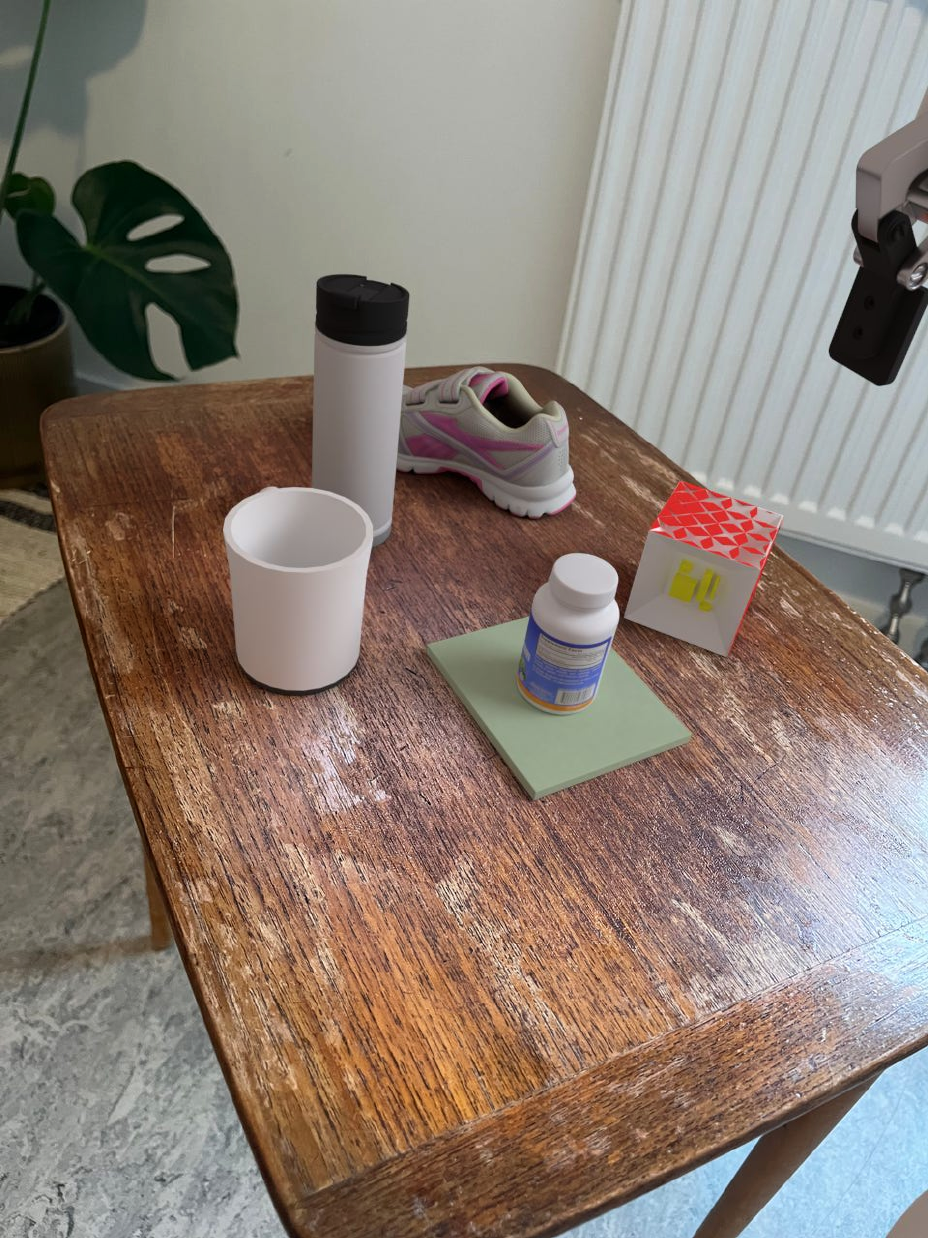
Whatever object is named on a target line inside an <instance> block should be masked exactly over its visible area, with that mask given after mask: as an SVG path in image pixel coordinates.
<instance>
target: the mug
mask: <svg viewBox="0 0 928 1238" xmlns="http://www.w3.org/2000/svg"><path fill="white" fill-rule="evenodd" d="M222 531H223V532H222V534H223V539H224V546H225V550H226V552H225V553H226V558H227V563H228V568H229V569H228V570H229V580H230V581H229V582H230V593H231V606H232V615H233V616H232V617H233V618H232V619H233V629H234V641H235V642H234V643H235V653H236V659H237V663H238V666H239V668H240V669H241V670H242V672H243V674H244V675H245V676H246V677H247V678H248V680H250V681H252V682H253V683H254V684H256V686H257V687H260V688H262V689H265V690H267V691H270V692H272V693H277V694H280V695H286V696H308V695H316V694H320V693H323V692H325V691H329V690H331V689H334V688H335V687H337V686H338V685H340V684H341V683H343V682H344V681H346V680H347V678H348V677H349V676H350V675H351V674H352V673H353V672H354V671H355V670H356V666H357V664H358V662H359V659H360V650H361V640H362V639H361V638H362V627H363V618H364V617H363V616H364V606H365V595H366V585H367V577H368V575H367V574H368V569H369V564H370V558H371V553H372V549H373V548H372V543H373V524H372V522H371V520H370V518H369V516H368V514H367V513H366V512H365V511H364V510H363V509H362V508H361V507H360V506H359V505H357V504H355V503H354V502H352V501H351V500H349V499H347V498H346V497H343V496H340V495H337V494H335V493H332V492H329V491H324V490H319V489H314V488H312V487H298V486H292V487H291V486H290V487H281V488H280V487H277V486H267V487H264V488H262V489H260V491H259V492H257V493H255V494H252V495H251V496H248V497H246V498H244V499H242V500H241V501H239V502H238V503H237V504H236V505H234V506H233V507H231V509H230V511H229V512H228V514H226V516H225V517H224V522H223V528H222Z"/></svg>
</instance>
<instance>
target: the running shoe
mask: <svg viewBox="0 0 928 1238" xmlns="http://www.w3.org/2000/svg"><path fill="white" fill-rule="evenodd" d="M569 437H570V426H569V422H568V418H567V414H566V411H565V409H564V408H563V406H561V404H560V403H558V402H557V401H555V400H551V401H549V402H547V403H546V404H545V405H544V406H543V407H542V406H540V405H539V404H538V403H537V402H536V401H535V400H534V398H533V397H532V396H531V395H530V394H529V392H528V391H527V390H526V389H525V387H524V386H523V384H522V383H521V381H520V380H519V379H517V377H515V376H514V375H513V374H511V373H508V372H505V371H494V370H492V369H489V368H487V367H485V366H474V367H472V368H471V367H469V368H466V369H463V370H460V371H458V372H455V373H453V374H452V375H450V376H448V377H446V378H443V379H436V380H433V381H429V382H427V383H424V384H421V385H418V386H417V385H416V387H414V388H413V387H410V386H408V385H405V384H403V391H402V403H401V415H400V427H399V439H398V451H397V463H396V471H399V472H402V473H409V472H411V471H413V472H414V473H415V474H417V475H428V474H429V475H431V474H433V475H434V474H440V473H445V472H447V471H449V472H451V473H459V474H460V475H462V476H463V477H465V478H469V479H470V481H471V482H472V483H474V484H476V485H477V487H478V488H479V490H480V491H481V493H482V494H484V495H485V496H486V498H487V499H488V500H489V501H491V502H492V501H493V502H494V503H495V506H497V508H500V509H502V510H504V511H506V510H508V509H509V511H510V513H511V514H512V515H514V516H517V517H520V518H523V517H526V516H528V517H529V518H530V519H531V520H532V519H533V520H539V519H540V518H541V517H542V516H543V514H546V515H549V516H555V515H557V514H558V513H560V512H562V511H563V510H565V509H566V508H568V506H569V505H571V504H572V502H574V500H575V499H576V496H577V490H576V487H575V485H574V483H573V481H574V479H575V475H574V470H573V468H572V466H571V464H569V461H570V460H569V459H570V455H569V454H570V450H569V449H570V446H569Z"/></svg>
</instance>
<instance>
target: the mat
mask: <svg viewBox="0 0 928 1238" xmlns="http://www.w3.org/2000/svg"><path fill="white" fill-rule="evenodd" d="M529 617H530V615H528V616H525V617H521V618H518V619H514V620H510V621H506V622H502V623H500V624H499V623H498V624H496V625H492V626H489V627H485V628H481V629H478V630H474V631H471V632H467V633H464V634H459V635H456V636H452V637H448V638H445V639H441V640H438V641H434V642H430V643H427V644H426V651H425V654H426V655H427V656H428V658H429V659H430V660H431V662H432V663H433V665H434V666H435V667H436V669H437V670H438V671H439V673H440V674H441V676H442V677H443V678H444V680H445V681H446V682H447V684H448V685H449V687H450V688H451V689H452V691H453V692H454V694H455V695H456V696H457V697H458V699H459V700H460V702H461V703H462V704H463V706H464V707H465V708H466V710H467V711H468V713H469V714H470V716H471V717H472V718H473V719H474V721H475V723H476V724H477V725H478V726H479V728H480V729H481V731H482V732H483V733H484V735H485V736H486V738H487V739H488V740H489V741H490V743H491V744H492V746H493V747H494V748H495V750H496V751H497V753H498V754H499V755H500V757H501V758H502V760H503V761H504V762H505V764H506V765H507V766H508V768H509V770H511V772H512V774H513V775H514V776H515V777H516V779H517V780H518V781H519V783H520V784H521V786H522V787H523V788H524V790H525V791H526V793H527V794H528V795H529V796H530V798H531V800H532V801H536V800H538V799H539V800H540V799H542V798H545V797H547V796H549V795H552V794H554V793H558V792H560V791H562V790H565V789H568V788H571V787H574V786H576V785H579V784H581V783H584V782H587V781H589V780H592V779H595V778H597V777H601V776H603V775H606V774H608V773H611V772H614V771H616V770H619V769H621V768H625V767H626V766H629V765H632V764H635V763H638V762H641V761H644V760H645V759H648V758H651V757H654V756H656V755H658V754H662V753H664V752H667V751H670V750H672V749H674V748H678V747H680V746H682V745H686V744H688V743H690V740H691V739H692V732H691V731H690V730H689V728H687V727H686V725H684V724H683V722H682V721H680V719H679V718H678V717H677V716H676V715H675V714H674V713H673V712H672V711H671V710H670V709H669V708H668V707H667V706H666V704H665V703H664V702H663V701H662V699H660V698H659V697H658V696H657V695H656V694H655V693H654V691H653V690H651V688H650V687H649V686H648V685H647V684H646V683H645V682H644V681H643V679H641V678H640V676H639V675H638V674H637V673H636V672H635V671H634V670H633V668H632V667H631V666H630V665H629V664H628V663H627V662H626V661H625V660H624V659H623V658H622V657H621V656H620V655H619V653H618V652H616V650H615V649H614V648H613V647H612V646H611V647H610V650H609V654H608V657H607V660H606V663H605V667H604V670H603V673H602V677H601V681H600V684H599V688H598V691H597V694H596V697H595V699H594V700H593V702H592V703H591V704H590V705H589V706H588V707H587V708H586V709H584V710H582V711H580V712H577V713H574V714H568V715H558V714H552V713H548V712H545V711H543V710H540V709H538V708H537V707H535V706H533V705H532V704H531V703H529V702H528V701H527V700H526V699H525V698H524V697H523V696H522V694H521V693H520V691H519V688H518V685H517V672H518V667H519V662H520V658H521V653H522V649H523V644H524V639H525V635H526V630H527V626H528V621H529Z"/></svg>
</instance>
